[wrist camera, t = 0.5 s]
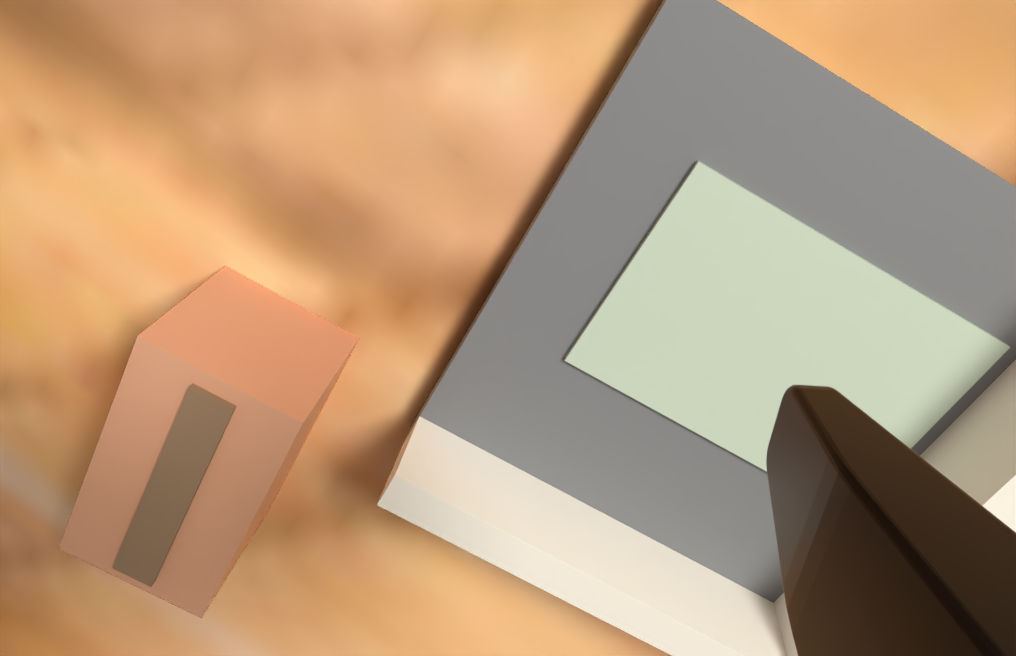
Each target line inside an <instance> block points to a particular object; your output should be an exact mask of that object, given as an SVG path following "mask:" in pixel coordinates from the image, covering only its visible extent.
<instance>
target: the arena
mask: <svg viewBox="0 0 1016 656" xmlns="http://www.w3.org/2000/svg"><path fill="white" fill-rule="evenodd" d="M792 385H812V386H828V387H831V388H834V389H835V390H837V391H838V392H840V393H841V394H842V395H843V396H845V397H846V398H847V399H849V400H850V401H851V402H852V403H854V404H855V405H856V406H857V407H859V408H860V409H861V410H862V411H864V412H865V413H866V414H867V415H869V416H870V417H871V418H872V419H874V420H875V421H876V422H877V423H879V424H880V425H881V426H883V427H884V428H885V429H886V430H888V431H889V432H890V433H891V434H893V435H894V436H895V437H896V438H898V439H899V440H900V441H901V442H903V443H904V444H905V445H906V446H908V447H909V448H910V449H911V450H913V451H914V452H915V453H917V454H918V455H919V456H920V457H922V458H923V459H924V460H925V461H927V462H928V463H929V464H930V465H932V466H933V467H934V468H935V469H937V470H938V471H939V472H940V473H942V474H943V475H944V476H945V477H947V478H948V479H949V480H951V481H952V482H953V483H954V484H956V485H957V486H958V487H959V488H961V489H962V490H963V491H964V492H966V493H967V494H968V495H969V496H971V497H972V498H973V499H974V500H976V501H977V502H978V503H979V504H981V505H982V506H983V507H985V508H986V509H987V510H988V511H990V512H991V513H992V514H993V515H995V516H996V517H997V518H998V519H1000V520H1001V521H1002V522H1003V523H1005V524H1006V525H1007V526H1008V527H1010V528H1011V529H1012V530H1013V531H1015V532H1016V187H1015V186H1014V185H1012V184H1011V183H1009V182H1007V181H1006V180H1004V179H1002V178H1001V177H999V176H998V175H996V174H994V173H993V172H991V171H990V170H988V169H986V168H985V167H983V166H982V165H980V164H978V163H977V162H975V161H974V160H972V159H970V158H969V157H967V156H966V155H964V154H962V153H961V152H959V151H958V150H956V149H954V148H953V147H951V146H949V145H948V144H946V143H945V142H943V141H941V140H940V139H938V138H937V137H935V136H933V135H932V134H930V133H929V132H927V131H925V130H924V129H922V128H921V127H919V126H917V125H916V124H914V123H913V122H911V121H909V120H908V119H906V118H905V117H903V116H901V115H900V114H898V113H897V112H895V111H893V110H892V109H890V108H888V107H887V106H885V105H884V104H882V103H880V102H879V101H877V100H876V99H874V98H872V97H871V96H869V95H868V94H866V93H864V92H863V91H861V90H860V89H858V88H856V87H855V86H853V85H852V84H850V83H848V82H847V81H845V80H844V79H842V78H840V77H839V76H837V75H835V74H834V73H832V72H831V71H829V70H827V69H826V68H824V67H823V66H821V65H819V64H818V63H816V62H815V61H813V60H811V59H810V58H808V57H807V56H805V55H803V54H802V53H800V52H799V51H797V50H795V49H794V48H792V47H791V46H789V45H787V44H786V43H784V42H783V41H781V40H779V39H778V38H776V37H774V36H773V35H771V34H770V33H768V32H766V31H765V30H763V29H762V28H760V27H758V26H757V25H755V24H754V23H752V22H750V21H749V20H747V19H746V18H744V17H742V16H741V15H739V14H738V13H736V12H734V11H733V10H731V9H730V8H728V7H726V6H725V5H723V4H722V3H720V2H718V1H717V0H663V1H662V2H661V4H660V6H659V7H658V9H657V11H656V13H655V14H654V16H653V18H652V19H651V21H650V23H649V24H648V26H647V28H646V29H645V31H644V33H643V35H642V36H641V38H640V40H639V41H638V43H637V45H636V46H635V48H634V50H633V51H632V53H631V55H630V57H629V58H628V60H627V62H626V63H625V65H624V67H623V68H622V70H621V72H620V73H619V75H618V77H617V78H616V80H615V82H614V84H613V85H612V87H611V89H610V90H609V92H608V94H607V95H606V97H605V99H604V100H603V102H602V104H601V106H600V107H599V109H598V111H597V112H596V114H595V116H594V117H593V119H592V121H591V122H590V124H589V126H588V128H587V129H586V131H585V133H584V134H583V136H582V138H581V139H580V141H579V143H578V144H577V146H576V148H575V149H574V151H573V153H572V155H571V156H570V158H569V160H568V161H567V163H566V165H565V166H564V168H563V170H562V171H561V173H560V175H559V177H558V178H557V180H556V182H555V183H554V185H553V187H552V188H551V190H550V192H549V193H548V195H547V197H546V199H545V200H544V202H543V204H542V205H541V207H540V209H539V210H538V212H537V214H536V215H535V217H534V219H533V221H532V222H531V224H530V226H529V227H528V229H527V231H526V232H525V234H524V236H523V237H522V239H521V241H520V242H519V244H518V246H517V248H516V249H515V251H514V253H513V254H512V256H511V258H510V259H509V261H508V263H507V264H506V266H505V268H504V270H503V271H502V273H501V275H500V276H499V278H498V280H497V281H496V283H495V285H494V286H493V288H492V290H491V292H490V293H489V295H488V297H487V298H486V300H485V302H484V303H483V305H482V307H481V308H480V310H479V312H478V313H477V315H476V317H475V319H474V320H473V322H472V324H471V325H470V327H469V329H468V330H467V332H466V334H465V335H464V337H463V339H462V341H461V342H460V344H459V346H458V347H457V349H456V351H455V352H454V354H453V356H452V357H451V359H450V361H449V363H448V364H447V366H446V368H445V369H444V371H443V373H442V374H441V376H440V378H439V379H438V381H437V383H436V384H435V386H434V388H433V390H432V391H431V393H430V395H429V396H428V398H427V400H426V401H425V403H424V405H423V406H422V408H421V410H420V412H419V413H418V415H417V417H416V418H415V420H414V422H413V423H412V425H411V427H410V429H409V431H408V434H407V436H406V438H405V441H404V443H403V445H402V448H401V450H400V452H399V455H398V457H397V459H396V462H395V464H394V466H393V469H392V471H391V473H390V476H389V478H388V480H387V483H386V485H385V487H384V490H383V492H382V494H381V497H380V499H379V501H378V504H377V505H378V506H380V507H381V508H383V509H385V510H387V511H389V512H391V513H393V514H395V515H397V516H399V517H401V518H403V519H405V520H407V521H409V522H411V523H413V524H415V525H417V526H419V527H421V528H423V529H425V530H427V531H429V532H430V533H432V534H434V535H436V536H438V537H440V538H442V539H444V540H446V541H448V542H450V543H452V544H454V545H456V546H458V547H460V548H462V549H464V550H466V551H468V552H470V553H472V554H474V555H476V556H478V557H480V558H481V559H483V560H485V561H487V562H489V563H491V564H493V565H495V566H497V567H499V568H501V569H503V570H505V571H507V572H509V573H511V574H513V575H515V576H517V577H519V578H521V579H523V580H525V581H527V582H529V583H530V584H532V585H534V586H536V587H538V588H540V589H542V590H544V591H546V592H548V593H550V594H552V595H554V596H556V597H558V598H560V599H562V600H564V601H566V602H568V603H570V604H572V605H574V606H576V607H578V608H579V609H581V610H583V611H585V612H587V613H589V614H591V615H593V616H595V617H597V618H599V619H601V620H603V621H605V622H607V623H609V624H611V625H613V626H615V627H617V628H619V629H621V630H623V631H625V632H627V633H628V634H630V635H632V636H634V637H636V638H638V639H640V640H642V641H644V642H646V643H648V644H650V645H652V646H654V647H656V648H658V649H660V650H662V651H664V652H666V653H668V654H670V655H672V656H798V654H797V650H796V646H795V642H794V639H793V635H792V630H791V626H790V622H789V618H788V613H787V608H786V602H785V596H784V590H783V583H782V576H781V569H780V562H779V555H778V548H777V541H776V533H775V526H774V519H773V512H772V505H771V498H770V490H769V483H768V476H767V467H766V458H767V449H768V444H769V441H770V438H771V434H772V431H773V427H774V424H775V421H776V417H777V414H778V410H779V407H780V404H781V400H782V397H783V395H784V393H785V391H786V390H787V388H789V387H791V386H792Z"/></svg>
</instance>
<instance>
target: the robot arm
mask: <svg viewBox="0 0 1016 656" xmlns="http://www.w3.org/2000/svg"><path fill="white" fill-rule="evenodd" d="M766 467H767V476H768V483H769V490H770V498H771V505H772V512H773V519H774V526H775V533H776V541H777V548H778V555H779V562H780V569H781V576H782V583H783V590H784V596H785V602H786V608H787V613H788V618H789V622H790V626H791V630H792V635H793V639H794V642H795V646H796V650H797V654H798V656H1016V532H1015V531H1013V530H1012V529H1011V528H1010V527H1008V526H1007V525H1006V524H1005V523H1003V522H1002V521H1001V520H1000V519H998V518H997V517H996V516H995V515H993V514H992V513H991V512H990V511H988V510H987V509H986V508H985V507H983V506H982V505H981V504H979V503H978V502H977V501H976V500H974V499H973V498H972V497H971V496H969V495H968V494H967V493H966V492H964V491H963V490H962V489H961V488H959V487H958V486H957V485H956V484H954V483H953V482H952V481H951V480H949V479H948V478H947V477H945V476H944V475H943V474H942V473H940V472H939V471H938V470H937V469H935V468H934V467H933V466H932V465H930V464H929V463H928V462H927V461H925V460H924V459H923V458H922V457H920V456H919V455H918V454H917V453H915V452H914V451H913V450H911V449H910V448H909V447H908V446H906V445H905V444H904V443H903V442H901V441H900V440H899V439H898V438H896V437H895V436H894V435H893V434H891V433H890V432H889V431H888V430H886V429H885V428H884V427H883V426H881V425H880V424H879V423H877V422H876V421H875V420H874V419H872V418H871V417H870V416H869V415H867V414H866V413H865V412H864V411H862V410H861V409H860V408H859V407H857V406H856V405H855V404H854V403H852V402H851V401H850V400H849V399H847V398H846V397H845V396H843V395H842V394H841V393H840V392H838V391H837V390H835V389H834V388H831V387H828V386H812V385H792V386H791V387H789V388H787V390H786V391H785V393H784V395H783V397H782V400H781V404H780V407H779V410H778V414H777V417H776V421H775V424H774V427H773V431H772V434H771V438H770V441H769V444H768V449H767V458H766Z"/></svg>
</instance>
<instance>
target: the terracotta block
mask: <svg viewBox="0 0 1016 656" xmlns="http://www.w3.org/2000/svg"><path fill="white" fill-rule="evenodd" d="M358 340H359V338H358V337H356V336H354V335H352V334H351V333H349V332H347V331H345V330H343V329H341V328H340V327H338V326H336V325H334V324H332V323H330V322H329V321H327V320H325V319H323V318H321V317H319V316H317V315H316V314H314V313H312V312H310V311H308V310H306V309H305V308H303V307H301V306H299V305H297V304H295V303H294V302H292V301H290V300H288V299H286V298H284V297H282V296H281V295H279V294H277V293H275V292H273V291H271V290H270V289H268V288H266V287H264V286H262V285H260V284H259V283H257V282H255V281H253V280H251V279H249V278H247V277H246V276H244V275H242V274H240V273H238V272H236V271H235V270H233V269H231V268H229V267H227V266H225V267H224V268H222V269H221V270H220V271H218V272H217V273H216V274H215V275H213V276H212V277H211V278H210V279H208V280H207V281H206V282H205V283H203V284H202V285H201V286H200V287H198V288H197V289H196V290H195V291H193V292H192V293H191V294H190V295H188V296H187V297H186V298H185V299H183V300H182V301H181V302H179V303H178V304H177V305H176V306H174V307H173V308H172V309H171V310H169V311H168V312H167V313H166V314H164V315H163V316H162V317H161V318H159V319H158V320H157V321H156V322H154V323H153V324H152V325H151V326H149V327H148V328H147V329H146V330H144V331H143V332H142V333H140V334H139V335H138V336H137V339H136V341H135V344H134V347H133V349H132V352H131V355H130V357H129V360H128V363H127V366H126V368H125V371H124V374H123V376H122V379H121V382H120V384H119V387H118V390H117V392H116V395H115V398H114V400H113V403H112V406H111V408H110V411H109V414H108V417H107V419H106V422H105V425H104V427H103V430H102V433H101V435H100V438H99V441H98V443H97V446H96V449H95V451H94V454H93V457H92V459H91V462H90V465H89V468H88V470H87V473H86V476H85V478H84V481H83V484H82V486H81V489H80V492H79V494H78V497H77V500H76V502H75V505H74V508H73V511H72V513H71V516H70V519H69V521H68V524H67V527H66V529H65V532H64V535H63V537H62V540H61V543H60V545H59V548H58V549H60V550H62V551H64V552H66V553H68V554H70V555H72V556H74V557H76V558H79V559H81V560H83V561H85V562H87V563H89V564H91V565H93V566H95V567H97V568H99V569H101V570H103V571H105V572H107V573H109V574H111V575H114V576H116V577H118V578H120V579H122V580H124V581H126V582H128V583H130V584H132V585H134V586H136V587H138V588H140V589H142V590H144V591H146V592H149V593H151V594H153V595H155V596H157V597H159V598H161V599H163V600H165V601H167V602H169V603H171V604H173V605H175V606H177V607H179V608H181V609H184V610H186V611H188V612H190V613H192V614H194V615H196V616H198V617H200V618H202V616H203V615H204V613H205V612H206V610H207V608H208V607H209V605H210V604H211V602H212V600H213V599H214V597H215V596H216V594H217V592H218V591H219V589H220V588H221V586H222V584H223V583H224V581H225V580H226V578H227V576H228V575H229V573H230V572H231V570H232V568H233V567H234V565H235V563H236V562H237V560H238V559H239V557H240V555H241V554H242V552H243V551H244V549H245V547H246V546H247V544H248V543H249V541H250V539H251V538H252V536H253V535H254V533H255V531H256V530H257V528H258V527H259V525H260V523H261V522H262V520H263V518H264V517H265V515H266V514H267V512H268V510H269V508H270V506H271V504H272V502H273V501H274V499H275V497H276V495H277V493H278V491H279V489H280V487H281V485H282V484H283V482H284V480H285V478H286V476H287V474H288V472H289V470H290V468H291V467H292V465H293V463H294V461H295V459H296V457H297V455H298V453H299V451H300V450H301V448H302V446H303V444H304V442H305V440H306V438H307V436H308V435H309V433H310V431H311V429H312V427H313V425H314V423H315V421H316V419H317V418H318V416H319V414H320V412H321V410H322V408H323V406H324V404H325V402H326V401H327V399H328V397H329V395H330V393H331V391H332V389H333V387H334V385H335V384H336V382H337V380H338V378H339V376H340V374H341V372H342V370H343V368H344V367H345V365H346V363H347V361H348V359H349V357H350V355H351V353H352V351H353V350H354V348H355V346H356V344H357V342H358Z"/></svg>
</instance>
